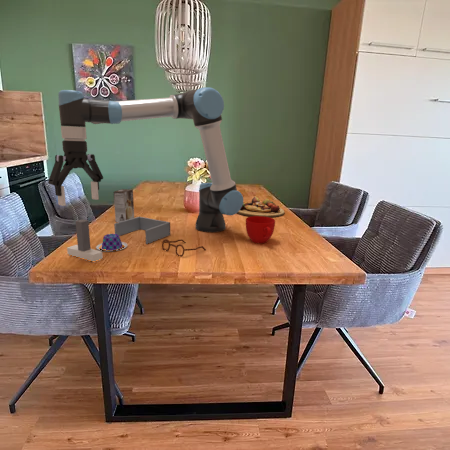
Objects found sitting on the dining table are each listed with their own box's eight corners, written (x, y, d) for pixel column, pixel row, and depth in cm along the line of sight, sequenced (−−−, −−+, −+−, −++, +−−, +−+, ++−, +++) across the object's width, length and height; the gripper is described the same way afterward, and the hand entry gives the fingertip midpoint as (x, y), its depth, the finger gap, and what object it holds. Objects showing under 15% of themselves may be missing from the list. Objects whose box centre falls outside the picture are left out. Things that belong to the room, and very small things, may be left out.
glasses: (161, 250, 130) (161, 238, 128) (185, 243, 139) (185, 232, 138) (182, 259, 121) (182, 246, 120) (207, 251, 131) (207, 239, 129)
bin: (170, 234, 148) (170, 222, 147) (147, 244, 135) (146, 230, 133) (139, 228, 157) (139, 216, 155) (115, 236, 143) (114, 223, 141)
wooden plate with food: (234, 217, 184) (235, 203, 182) (231, 205, 215) (232, 193, 213) (289, 220, 186) (291, 206, 184) (278, 207, 217) (279, 195, 214)
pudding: (91, 247, 130) (90, 234, 129) (119, 241, 138) (118, 229, 137) (104, 255, 122) (103, 242, 120) (132, 248, 130) (132, 236, 129)
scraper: (102, 259, 117) (100, 222, 114) (93, 262, 114) (90, 225, 110) (77, 252, 124) (73, 216, 120) (67, 255, 120) (64, 219, 116)
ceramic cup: (254, 249, 132) (255, 226, 130) (240, 237, 148) (241, 216, 145) (282, 247, 136) (284, 225, 133) (266, 236, 152) (268, 215, 149)
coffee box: (123, 217, 175) (122, 188, 171) (134, 218, 174) (133, 189, 170) (115, 222, 166) (113, 191, 162) (126, 223, 165) (124, 192, 161)
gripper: (96, 140, 120) (100, 195, 126) (30, 139, 99) (38, 206, 104) (111, 140, 117) (114, 198, 122) (46, 140, 95) (53, 209, 101)
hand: (79, 202), depth 113 cm, fingers open, 13 cm apart
